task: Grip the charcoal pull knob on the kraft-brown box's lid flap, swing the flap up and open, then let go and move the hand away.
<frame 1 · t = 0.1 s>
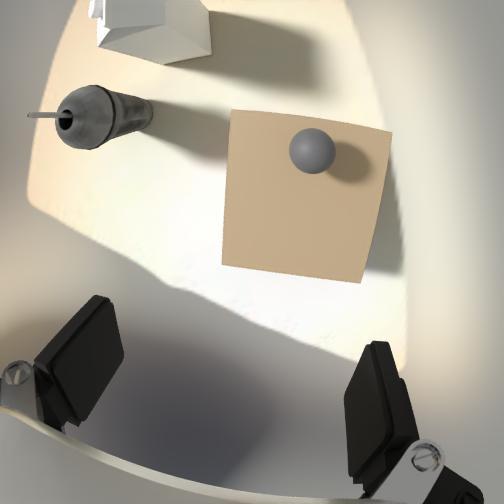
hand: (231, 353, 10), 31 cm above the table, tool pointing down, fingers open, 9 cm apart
beverage cup: (139, 113, 37), on the table
flap: (303, 208, 28), point 11 cm above the table, hinge at 0.0°
milk carton: (185, 37, 31), on the table
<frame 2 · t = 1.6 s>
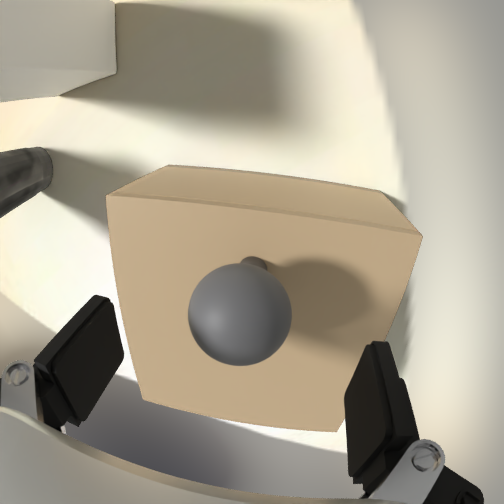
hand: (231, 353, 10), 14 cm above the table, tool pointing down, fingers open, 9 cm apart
carton: (261, 276, 25), on the table
beverage cup: (39, 168, 24), on the table
flap: (237, 381, 15), point 11 cm above the table, hinge at 0.0°
milk carton: (84, 49, 18), on the table
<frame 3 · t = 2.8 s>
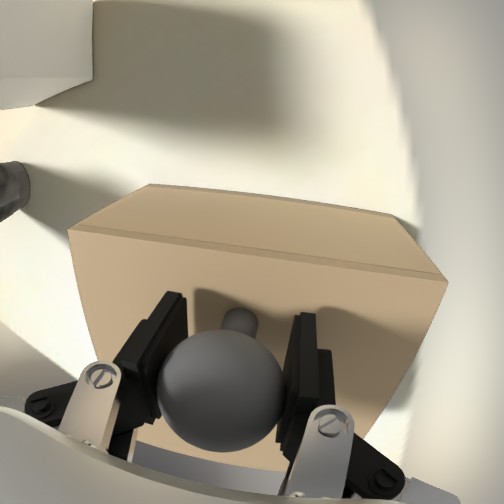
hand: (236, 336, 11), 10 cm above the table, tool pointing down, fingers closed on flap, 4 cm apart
carton: (255, 308, 22), on the table
beverage cup: (17, 184, 21), on the table
flap: (224, 441, 12), point 11 cm above the table, hinge at 0.0°, touching gripper
milk carton: (61, 53, 16), on the table
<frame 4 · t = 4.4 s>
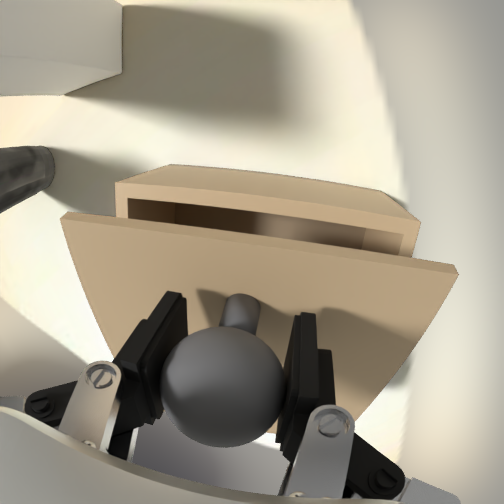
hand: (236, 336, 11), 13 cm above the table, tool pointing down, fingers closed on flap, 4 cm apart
carton: (262, 278, 25), on the table
beverage cup: (41, 167, 24), on the table
flap: (229, 417, 13), point 13 cm above the table, hinge at 13.6°, touching gripper
milk carton: (91, 50, 19), on the table
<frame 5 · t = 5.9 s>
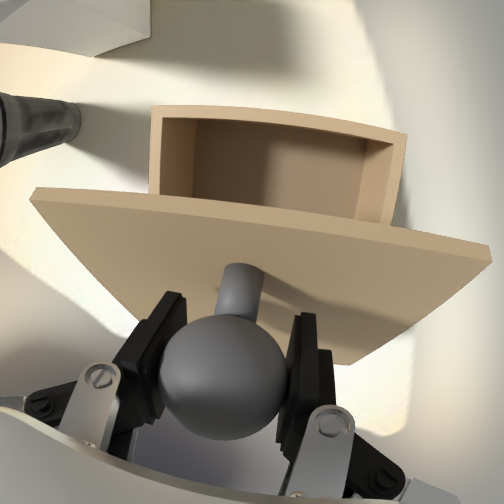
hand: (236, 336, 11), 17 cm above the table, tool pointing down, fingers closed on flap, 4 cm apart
carton: (272, 212, 27), on the table
beverage cup: (67, 122, 26), on the table
flap: (238, 368, 14), point 16 cm above the table, hinge at 36.4°, touching gripper
milk carton: (121, 19, 21), on the table
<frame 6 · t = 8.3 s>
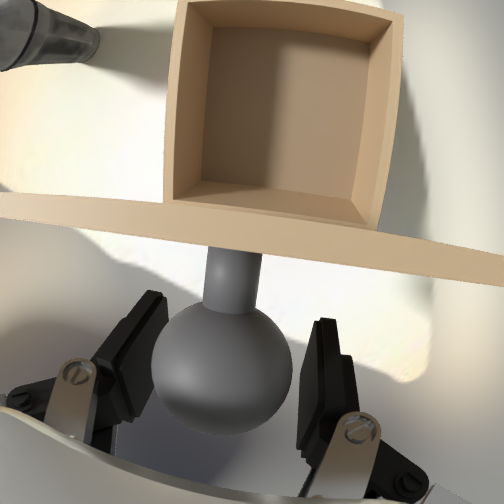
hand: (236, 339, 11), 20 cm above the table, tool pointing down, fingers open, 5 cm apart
carton: (284, 107, 25), on the table
beverage cup: (85, 45, 24), on the table
flap: (248, 290, 14), point 17 cm above the table, hinge at 70.4°
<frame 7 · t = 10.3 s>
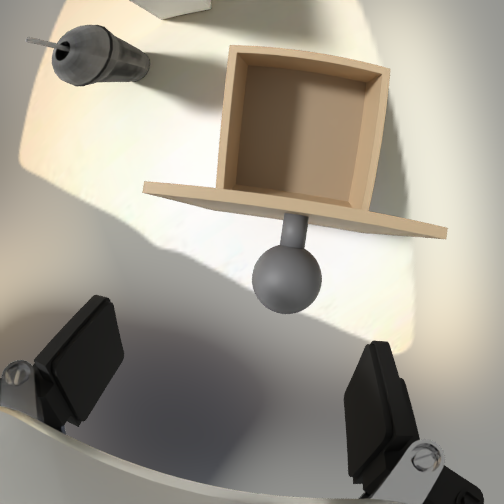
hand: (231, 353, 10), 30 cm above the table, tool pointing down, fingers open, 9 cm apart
carton: (300, 131, 35), on the table
beverage cup: (136, 66, 33), on the table
flap: (288, 252, 23), point 17 cm above the table, hinge at 70.4°
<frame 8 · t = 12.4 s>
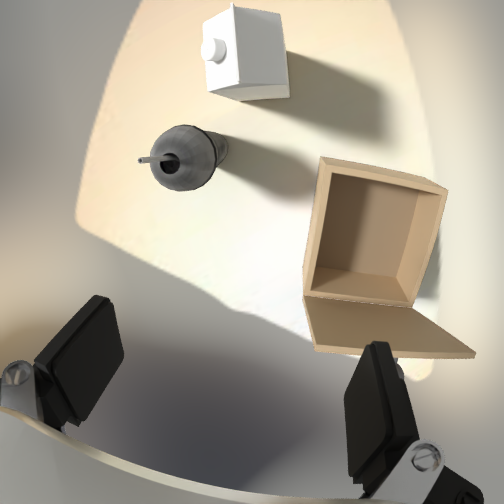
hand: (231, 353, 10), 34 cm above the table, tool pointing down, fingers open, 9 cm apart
carton: (364, 222, 42), on the table
beverage cup: (212, 147, 41), on the table
flap: (372, 348, 30), point 17 cm above the table, hinge at 70.4°
milk carton: (261, 75, 36), on the table
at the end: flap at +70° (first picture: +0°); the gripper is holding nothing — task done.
